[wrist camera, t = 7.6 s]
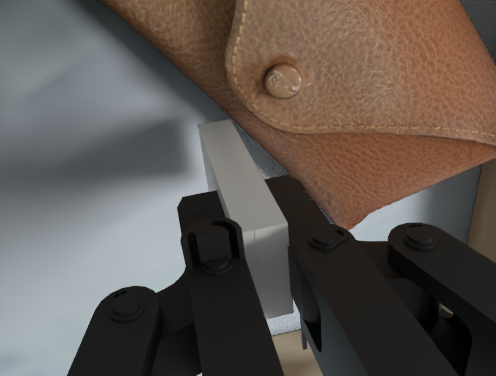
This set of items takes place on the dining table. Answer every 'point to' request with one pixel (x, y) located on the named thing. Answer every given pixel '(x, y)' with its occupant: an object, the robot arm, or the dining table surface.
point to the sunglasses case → (339, 88)
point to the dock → (481, 240)
